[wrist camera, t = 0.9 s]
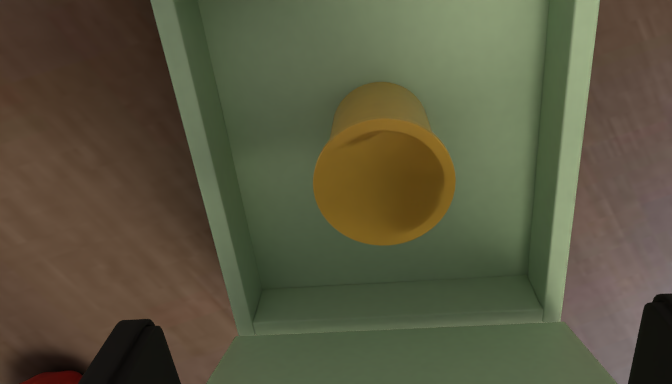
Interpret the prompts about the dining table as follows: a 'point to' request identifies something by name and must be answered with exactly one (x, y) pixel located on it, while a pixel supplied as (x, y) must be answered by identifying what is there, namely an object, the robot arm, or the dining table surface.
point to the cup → (383, 168)
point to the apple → (55, 378)
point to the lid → (415, 357)
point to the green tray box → (446, 123)
